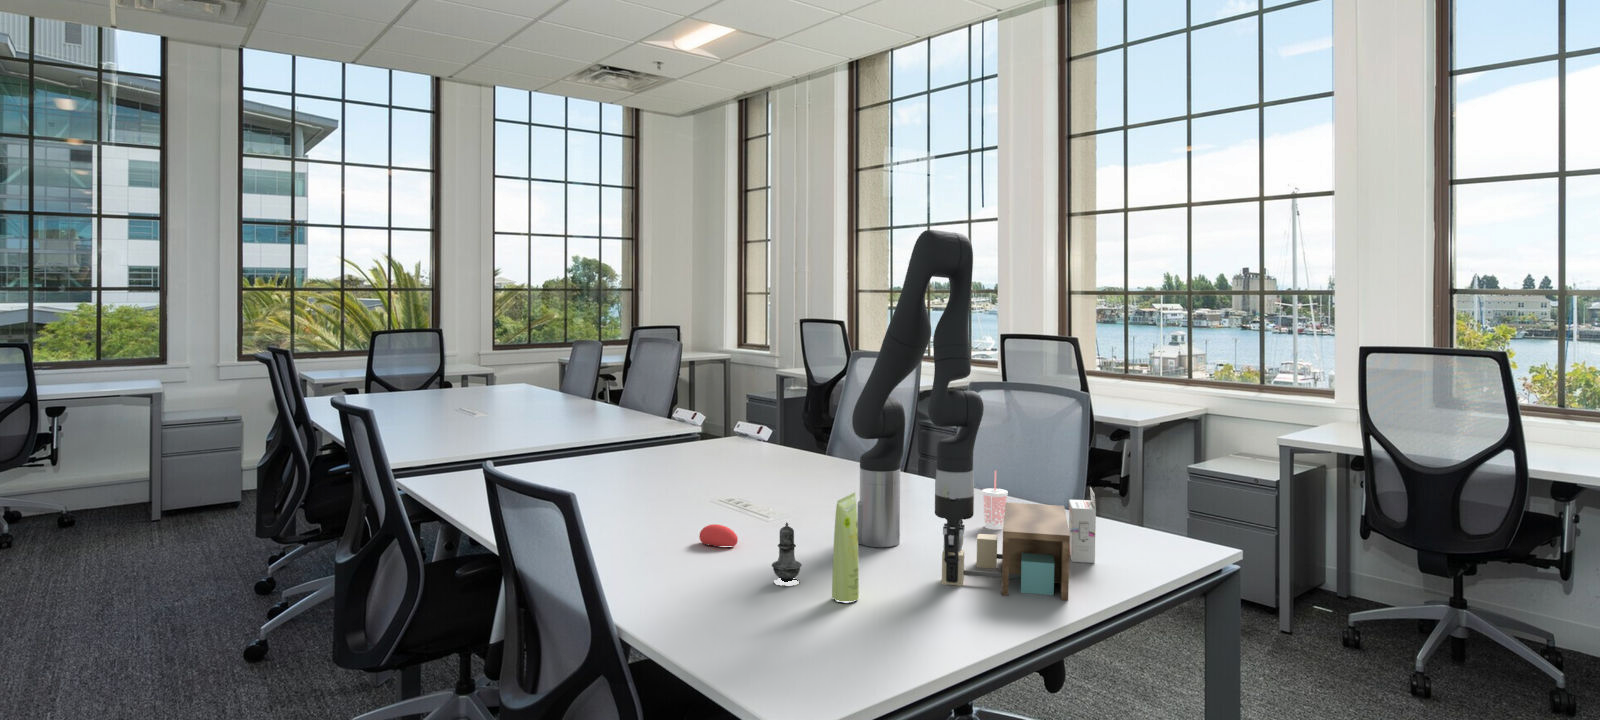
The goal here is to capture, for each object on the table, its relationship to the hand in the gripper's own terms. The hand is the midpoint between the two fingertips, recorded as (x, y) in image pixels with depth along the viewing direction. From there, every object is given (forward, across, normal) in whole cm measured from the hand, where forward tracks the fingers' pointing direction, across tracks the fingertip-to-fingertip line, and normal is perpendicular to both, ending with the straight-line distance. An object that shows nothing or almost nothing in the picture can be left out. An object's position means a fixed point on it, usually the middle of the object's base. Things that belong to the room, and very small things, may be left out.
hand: (953, 577), depth 173 cm
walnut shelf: (+1, -6, +16) cm, 17 cm away
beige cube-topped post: (+1, -13, +12) cm, 17 cm away
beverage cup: (+1, -45, +6) cm, 45 cm away
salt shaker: (+1, +9, -32) cm, 33 cm away
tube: (+1, +16, -18) cm, 24 cm away
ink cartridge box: (+1, -24, +26) cm, 35 cm away
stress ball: (+1, -12, -54) cm, 55 cm away
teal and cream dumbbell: (+1, 0, +9) cm, 9 cm away
